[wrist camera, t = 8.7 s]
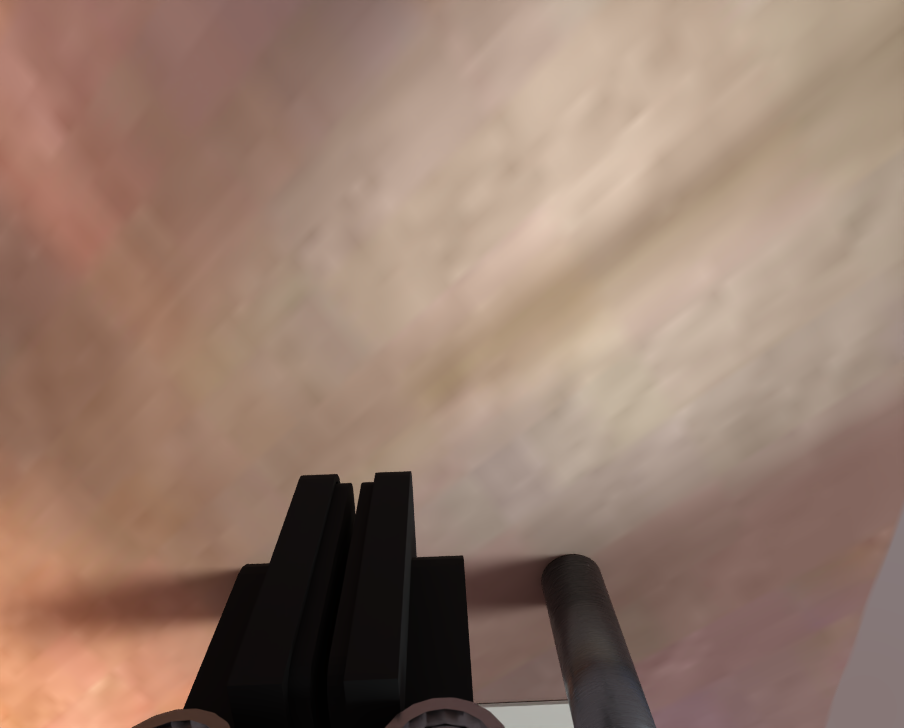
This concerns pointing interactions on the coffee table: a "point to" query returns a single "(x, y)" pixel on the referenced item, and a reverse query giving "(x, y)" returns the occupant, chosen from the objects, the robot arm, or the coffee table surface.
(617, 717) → the post
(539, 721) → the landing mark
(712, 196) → the coffee table surface
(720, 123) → the coffee table surface
